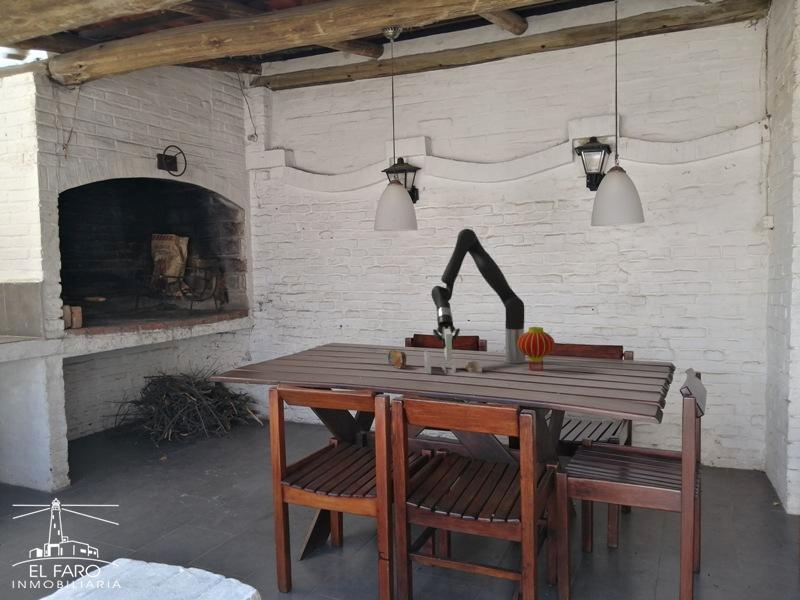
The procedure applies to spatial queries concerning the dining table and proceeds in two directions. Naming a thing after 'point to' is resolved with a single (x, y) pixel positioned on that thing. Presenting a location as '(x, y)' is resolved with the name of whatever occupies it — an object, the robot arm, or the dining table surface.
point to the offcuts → (473, 366)
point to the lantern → (536, 346)
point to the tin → (397, 358)
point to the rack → (428, 363)
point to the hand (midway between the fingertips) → (448, 346)
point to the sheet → (448, 344)
